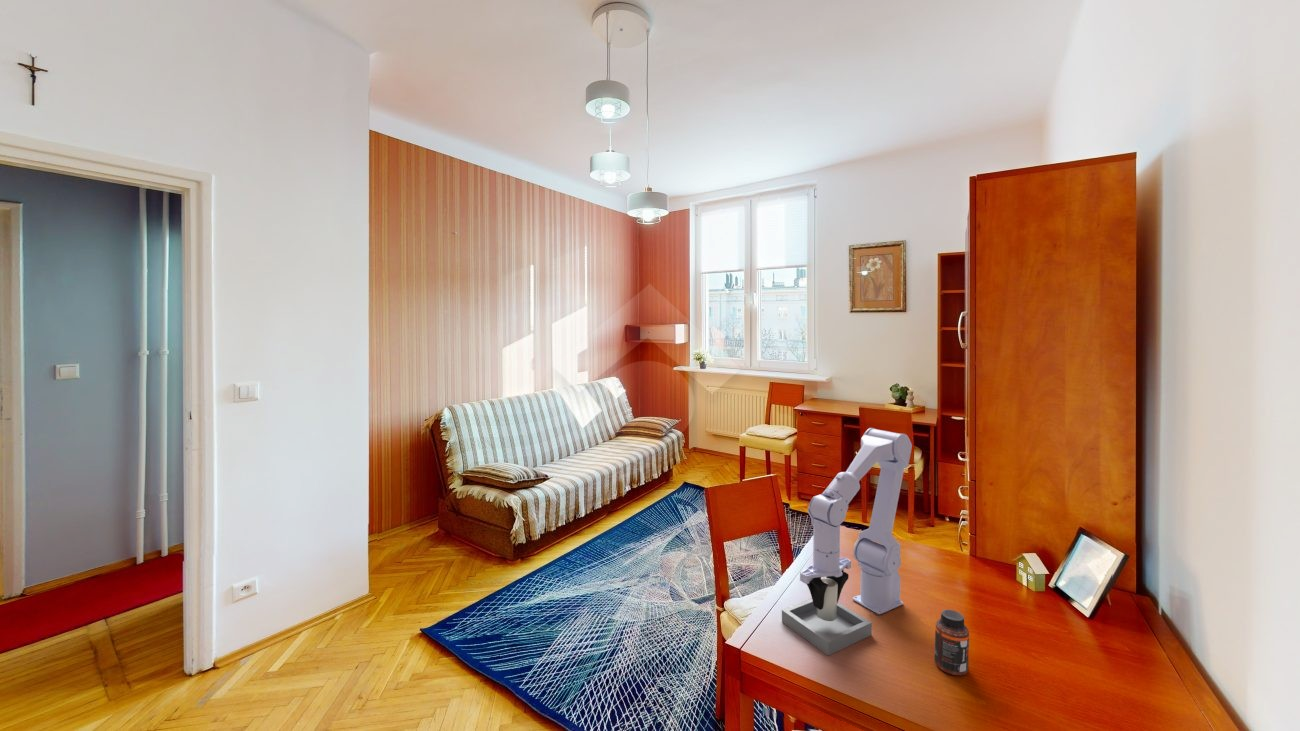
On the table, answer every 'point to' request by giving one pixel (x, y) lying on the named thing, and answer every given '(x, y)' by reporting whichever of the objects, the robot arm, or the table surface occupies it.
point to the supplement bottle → (951, 643)
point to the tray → (827, 626)
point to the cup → (829, 601)
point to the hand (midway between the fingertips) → (825, 604)
